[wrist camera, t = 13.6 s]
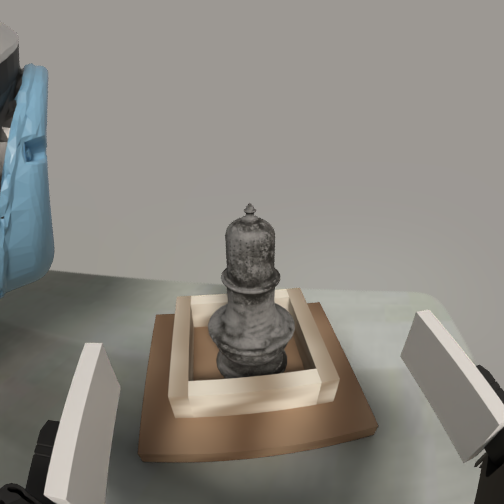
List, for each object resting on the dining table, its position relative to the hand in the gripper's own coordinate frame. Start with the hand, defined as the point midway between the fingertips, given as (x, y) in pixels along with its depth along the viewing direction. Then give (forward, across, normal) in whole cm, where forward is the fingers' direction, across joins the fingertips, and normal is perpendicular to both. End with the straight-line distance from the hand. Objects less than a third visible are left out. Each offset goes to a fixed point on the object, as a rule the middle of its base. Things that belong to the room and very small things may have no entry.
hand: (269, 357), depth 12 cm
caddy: (+7, 0, -10) cm, 12 cm away
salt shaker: (+8, 0, -8) cm, 12 cm away
